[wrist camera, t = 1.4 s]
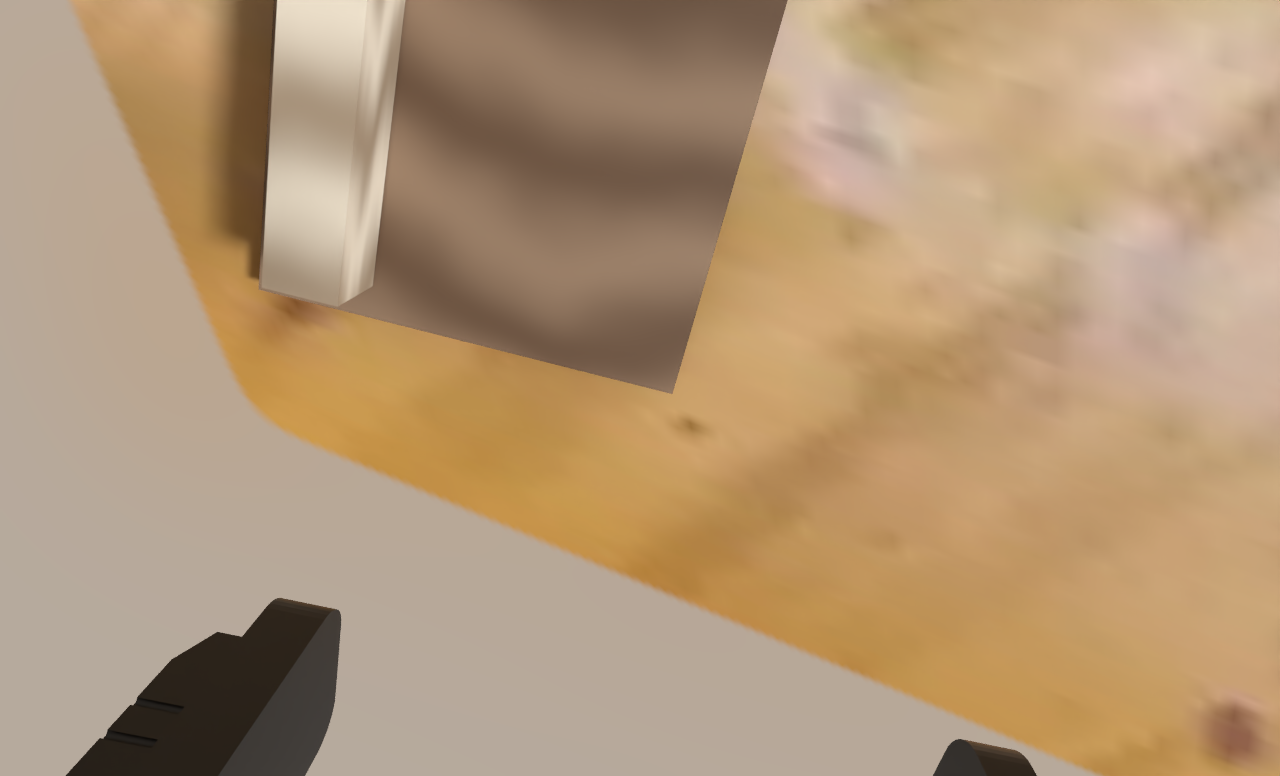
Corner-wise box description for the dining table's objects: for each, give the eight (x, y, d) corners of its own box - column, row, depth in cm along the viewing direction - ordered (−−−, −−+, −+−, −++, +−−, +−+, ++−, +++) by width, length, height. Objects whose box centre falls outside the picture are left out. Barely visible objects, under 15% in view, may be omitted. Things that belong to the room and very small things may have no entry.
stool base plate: (303, -216, 26) (221, -289, 21) (805, -71, 27) (832, -110, 22) (273, 283, 33) (206, 312, 28) (672, 384, 34) (672, 428, 29)
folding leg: (336, -149, 25) (278, -193, 22) (419, -125, 25) (376, -165, 22) (304, 269, 31) (254, 290, 27) (372, 286, 31) (331, 310, 27)
